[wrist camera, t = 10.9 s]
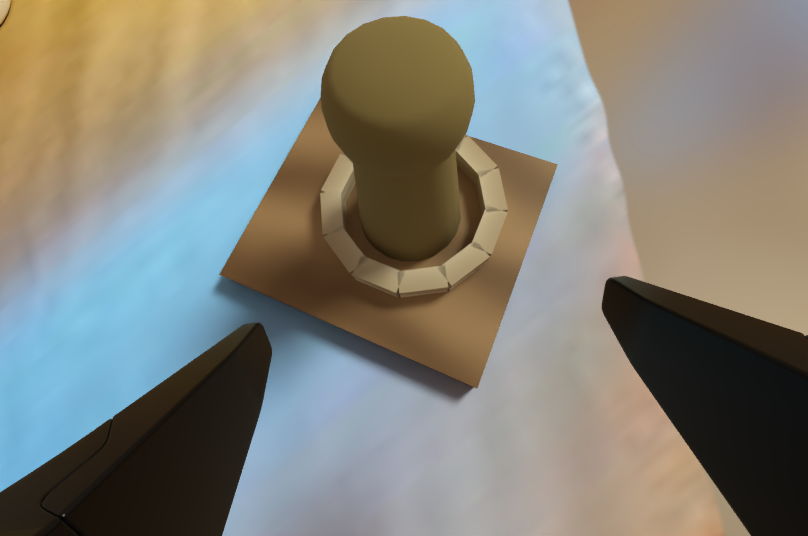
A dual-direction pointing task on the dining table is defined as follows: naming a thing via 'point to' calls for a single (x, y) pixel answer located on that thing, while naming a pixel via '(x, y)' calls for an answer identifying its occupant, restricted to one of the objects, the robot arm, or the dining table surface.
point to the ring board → (386, 277)
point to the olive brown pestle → (401, 130)
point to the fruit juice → (4, 9)
